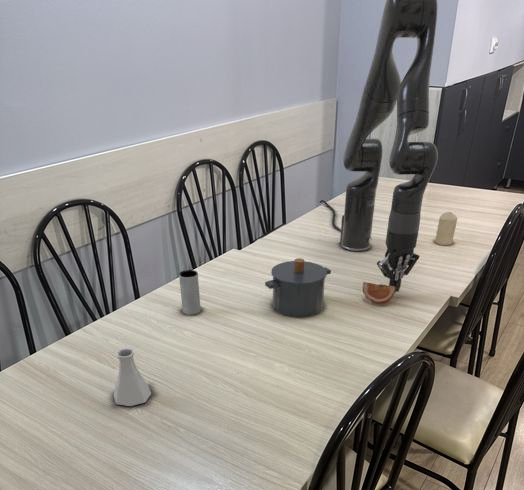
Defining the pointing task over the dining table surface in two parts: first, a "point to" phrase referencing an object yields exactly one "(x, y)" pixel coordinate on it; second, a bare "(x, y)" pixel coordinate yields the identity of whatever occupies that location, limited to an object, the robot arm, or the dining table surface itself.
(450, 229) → the candle
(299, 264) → the pot lid
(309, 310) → the pot
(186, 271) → the gray cylinder
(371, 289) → the fruit slice
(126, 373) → the flask
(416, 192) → the robot arm
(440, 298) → the dining table surface
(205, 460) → the dining table surface
